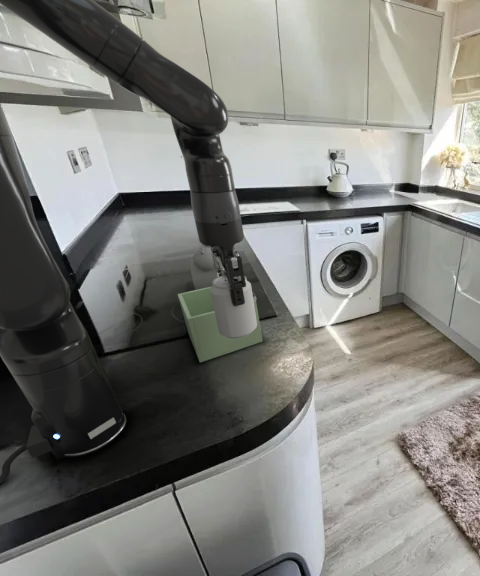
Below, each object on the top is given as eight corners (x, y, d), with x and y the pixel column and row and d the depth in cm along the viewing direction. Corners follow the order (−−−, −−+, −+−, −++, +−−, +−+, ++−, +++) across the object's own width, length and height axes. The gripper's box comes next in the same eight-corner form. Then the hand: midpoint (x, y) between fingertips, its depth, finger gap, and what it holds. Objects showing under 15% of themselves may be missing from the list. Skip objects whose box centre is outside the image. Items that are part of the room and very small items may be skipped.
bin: (199, 362, 75) (187, 319, 70) (188, 333, 85) (177, 294, 80) (262, 341, 83) (256, 301, 78) (245, 317, 93) (238, 280, 88)
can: (262, 321, 72) (255, 272, 67) (250, 341, 65) (241, 287, 60) (228, 321, 72) (218, 271, 67) (212, 340, 65) (200, 286, 60)
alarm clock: (229, 312, 95) (214, 241, 86) (197, 314, 94) (179, 242, 84) (240, 288, 110) (228, 225, 100) (212, 290, 108) (198, 225, 99)
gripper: (187, 210, 61) (205, 288, 68) (203, 227, 51) (221, 317, 58) (229, 206, 65) (242, 280, 72) (251, 221, 55) (263, 305, 62)
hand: (233, 296), depth 65 cm, fingers closed on can, 7 cm apart
